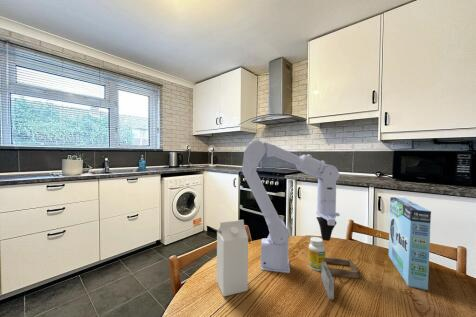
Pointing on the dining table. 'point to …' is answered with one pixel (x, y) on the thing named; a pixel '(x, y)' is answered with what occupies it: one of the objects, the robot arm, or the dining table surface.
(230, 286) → the milk carton
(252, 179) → the robot arm
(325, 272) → the locking bar
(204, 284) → the dining table surface
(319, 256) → the supplement bottle
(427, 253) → the gum box
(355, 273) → the brown u-shaped frame
